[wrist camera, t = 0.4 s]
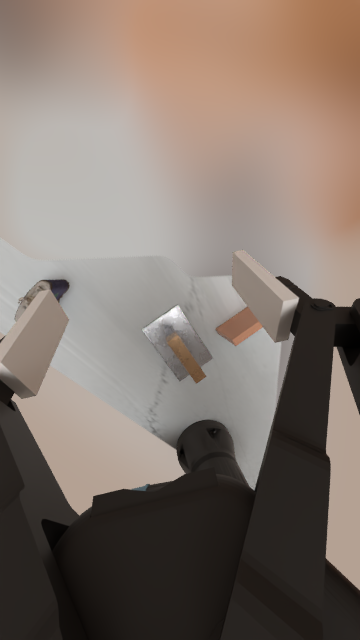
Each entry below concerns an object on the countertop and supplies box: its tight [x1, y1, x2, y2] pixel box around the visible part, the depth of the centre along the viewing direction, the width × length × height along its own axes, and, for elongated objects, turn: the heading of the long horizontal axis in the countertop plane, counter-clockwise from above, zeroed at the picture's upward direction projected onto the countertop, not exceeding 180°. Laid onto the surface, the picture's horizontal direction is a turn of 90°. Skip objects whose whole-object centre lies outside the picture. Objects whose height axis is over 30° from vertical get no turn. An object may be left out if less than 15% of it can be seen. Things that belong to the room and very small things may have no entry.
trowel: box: [142, 305, 213, 383], centre depth 45 cm, size 16×10×11 cm, turn 33°
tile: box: [216, 307, 263, 346], centre depth 46 cm, size 2×10×10 cm, turn 123°
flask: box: [15, 280, 69, 322], centre depth 38 cm, size 9×3×11 cm, turn 143°
